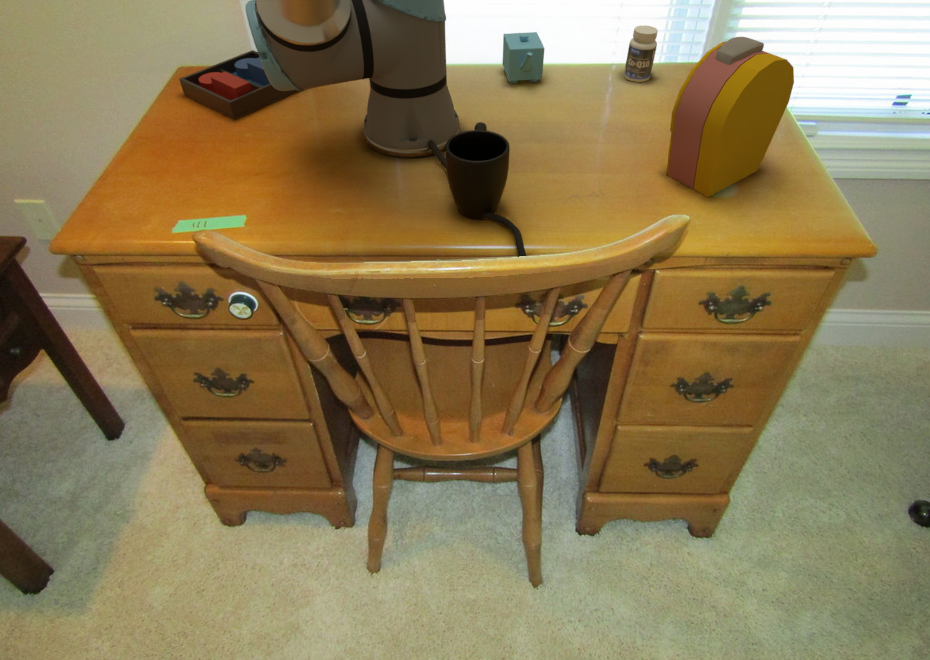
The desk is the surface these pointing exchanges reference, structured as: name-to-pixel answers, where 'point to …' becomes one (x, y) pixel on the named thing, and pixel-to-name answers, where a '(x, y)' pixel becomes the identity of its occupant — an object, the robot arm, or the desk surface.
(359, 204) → the desk surface
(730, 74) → the alarm clock
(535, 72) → the teapot
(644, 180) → the desk surface
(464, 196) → the mug
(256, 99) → the organizer
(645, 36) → the pill bottle
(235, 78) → the red rounded-end block
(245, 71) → the blue round-headed block
